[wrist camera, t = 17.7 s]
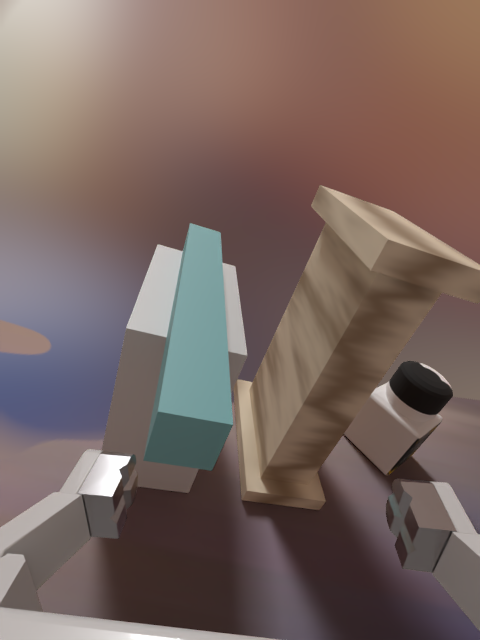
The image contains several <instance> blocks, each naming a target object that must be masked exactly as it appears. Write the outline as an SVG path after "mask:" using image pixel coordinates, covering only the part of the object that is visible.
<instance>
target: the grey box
mask: <svg viewBox="0 0 480 640" xmlns="http://www.w3.org/2000/svg"><path fill="white" fill-rule="evenodd" d="M182 253H183V251H179V250H176V249H172V248H168V247H165V246H162V245H157V248H156V250H155V253H154V256H153V258H152V261H151V264H150V266H149V269H148V272H147V274H146V277H145V280H144V283H143V285H142V288H141V290H140V293H139V296H138V298H137V301H136V304H135V306H134V309H133V312H132V314H131V317H130V320H129V322H128V325H127V328H126V332H125V337H124V343H123V347H122V352H121V357H120V362H119V367H118V372H117V377H116V382H115V387H114V392H113V397H112V402H111V407H110V412H109V417H108V422H107V427H106V432H105V436H104V441H103V446H102V451H111V452H119V453H128V454H134V455H135V456H136V465H135V467H134V470H135V471H136V472H137V473H138V487H145V488H153V489H161V490H168V491H176V492H184V493H189V491H190V489H191V486H192V484H193V482H194V479H195V477H196V475H197V472H198V470H199V469H197V468H190V467H183V466H176V465H169V464H162V463H156V462H149V461H143V459H144V454H145V448H146V443H147V438H148V433H149V427H150V422H151V417H152V411H153V406H154V401H155V396H156V390H157V385H158V380H159V374H160V369H161V364H162V359H163V353H164V348H165V343H166V338H167V332H168V327H169V322H170V316H171V311H172V306H173V301H174V295H175V290H176V285H177V279H178V274H179V269H180V264H181V258H182ZM222 265H223V280H224V295H225V311H226V326H227V341H228V357H229V372H230V387H231V393H232V390H233V388H234V386H235V383H236V381H237V379H238V376H239V374H240V372H241V369H242V367H243V365H244V362H245V360H246V358H247V350H246V342H245V336H244V328H243V321H242V313H241V306H240V298H239V291H238V284H237V276H236V270H235V266H232V265H228V264H225V263H222Z"/></svg>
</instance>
